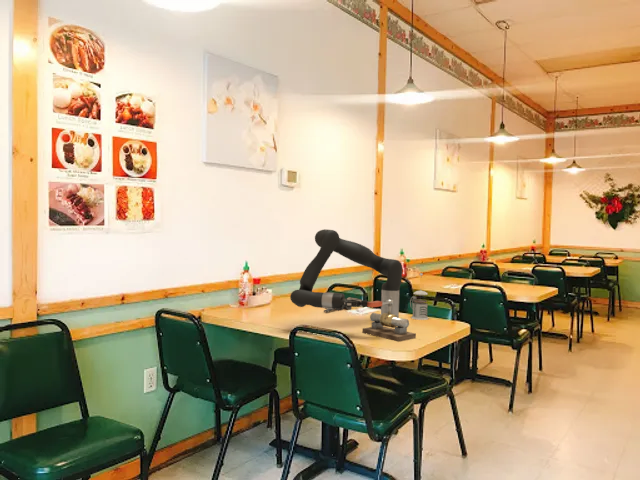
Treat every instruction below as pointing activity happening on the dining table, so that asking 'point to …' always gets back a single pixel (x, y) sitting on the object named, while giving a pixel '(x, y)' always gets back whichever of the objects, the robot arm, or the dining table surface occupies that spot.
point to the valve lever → (379, 303)
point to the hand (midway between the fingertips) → (370, 303)
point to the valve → (336, 309)
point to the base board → (389, 333)
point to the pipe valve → (389, 322)
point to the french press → (418, 312)
